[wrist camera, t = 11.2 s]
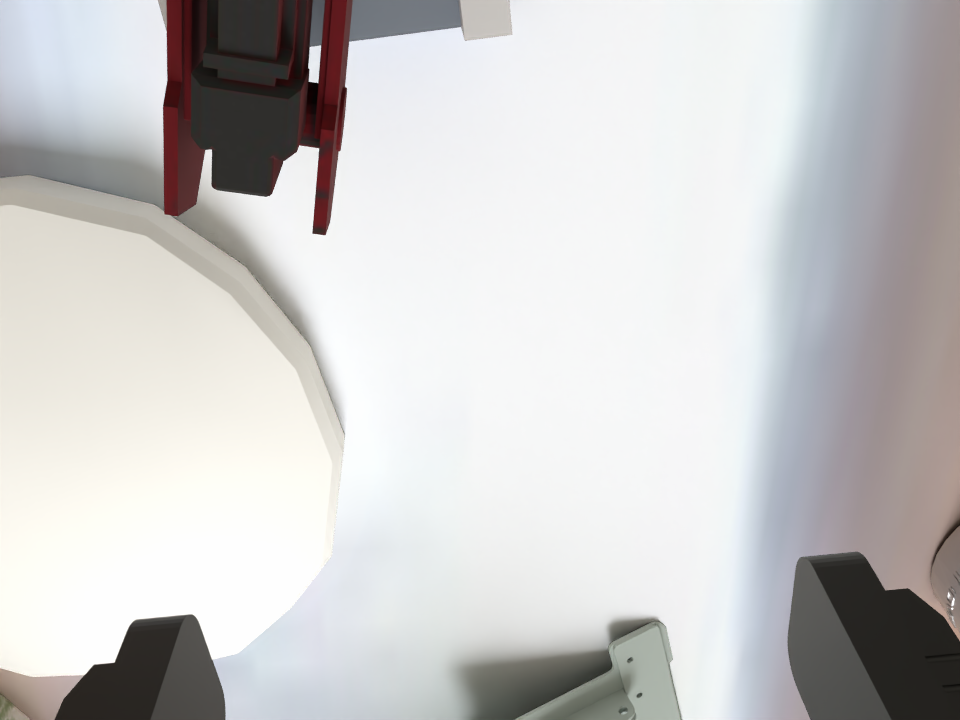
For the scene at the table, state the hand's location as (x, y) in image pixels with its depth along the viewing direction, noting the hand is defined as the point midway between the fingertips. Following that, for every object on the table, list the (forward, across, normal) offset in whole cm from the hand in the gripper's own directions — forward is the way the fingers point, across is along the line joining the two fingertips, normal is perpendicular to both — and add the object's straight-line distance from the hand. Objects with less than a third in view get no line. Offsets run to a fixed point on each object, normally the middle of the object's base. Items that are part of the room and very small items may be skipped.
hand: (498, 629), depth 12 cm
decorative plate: (+24, +19, +12) cm, 33 cm away
